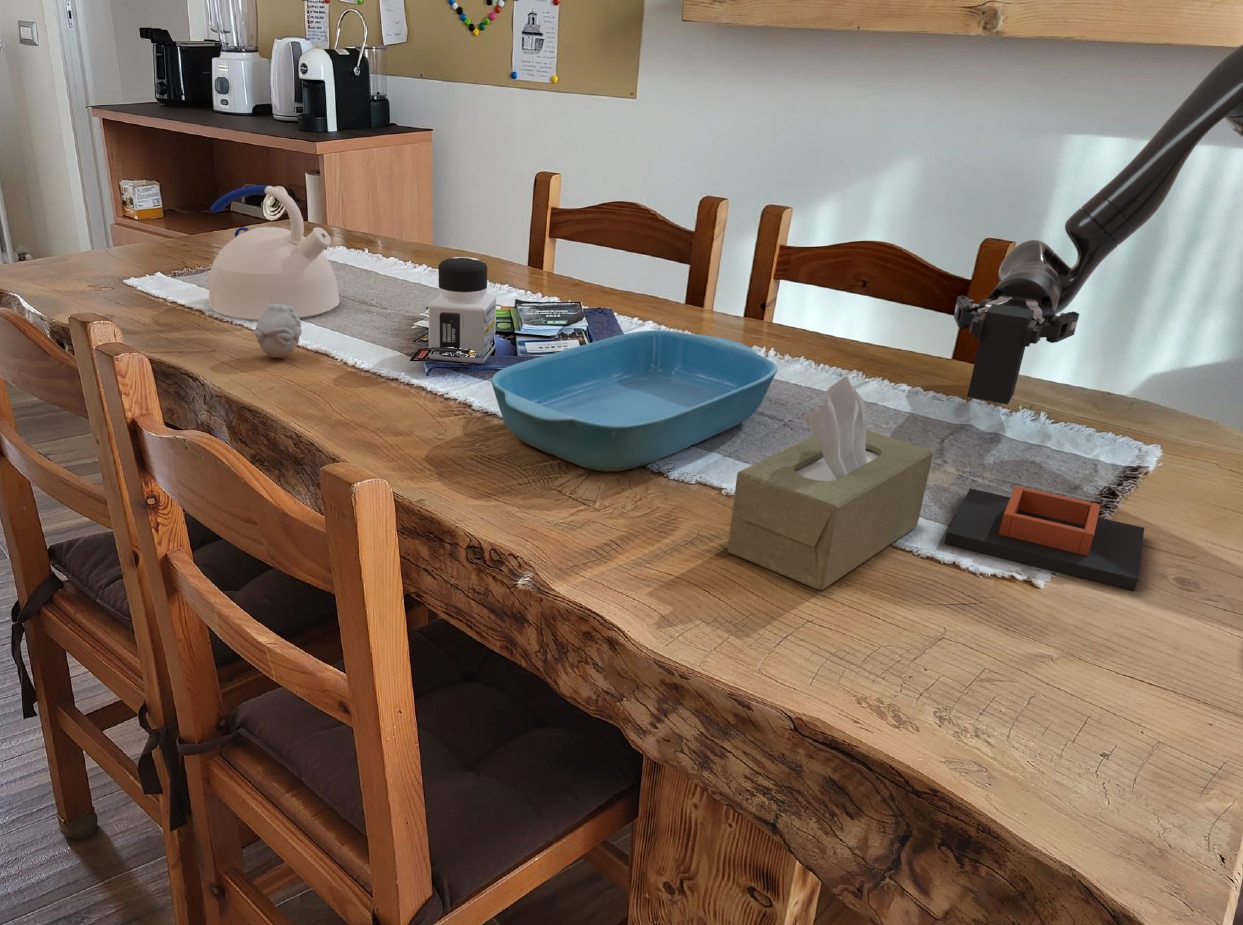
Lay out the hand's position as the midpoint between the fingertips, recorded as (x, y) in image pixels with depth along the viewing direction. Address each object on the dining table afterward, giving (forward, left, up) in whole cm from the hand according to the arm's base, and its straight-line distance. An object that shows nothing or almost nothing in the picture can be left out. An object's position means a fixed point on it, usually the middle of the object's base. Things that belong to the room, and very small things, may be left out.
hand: (1002, 333), depth 115 cm
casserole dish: (+40, +2, -13) cm, 42 cm away
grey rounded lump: (+88, -16, -13) cm, 90 cm away
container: (+64, -22, -13) cm, 69 cm away
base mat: (+1, +25, -13) cm, 29 cm away
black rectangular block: (-1, -2, -8) cm, 8 cm away
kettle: (+97, -42, -13) cm, 106 cm away
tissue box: (+22, +28, -13) cm, 38 cm away
